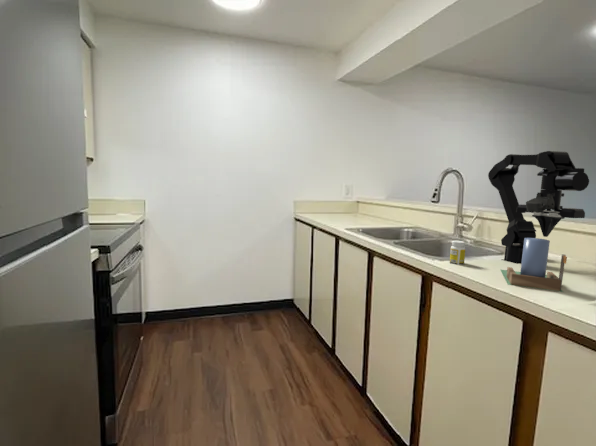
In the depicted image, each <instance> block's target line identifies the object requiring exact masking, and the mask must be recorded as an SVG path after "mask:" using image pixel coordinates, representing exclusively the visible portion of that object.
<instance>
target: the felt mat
mask: <svg viewBox="0 0 596 446" xmlns="http://www.w3.org/2000/svg"><path fill="white" fill-rule="evenodd" d="M514 271H515V273H516V274H520V271H516V270H514ZM500 272H501V274H502V276H503V278H504V280H505V283H507V286H512V285H511V284H510V282H509V280H508V278H507V269H500ZM545 278H547V274H546V275H545ZM513 286H515V287H518V286H517V285H513ZM520 287H523V288H525V287H524V286H520ZM528 288H529V289H530V288H531V289H533V288H532V287H528ZM535 289H537V290H541V289H540V288H535ZM543 290H545V291H548V290H547V289H543ZM550 291H553V292H556V291H555V290H550ZM558 292H559V293H564V290H562V289H561V291H558Z"/></svg>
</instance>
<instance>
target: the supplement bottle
mask: <svg viewBox="0 0 596 446" xmlns="http://www.w3.org/2000/svg"><path fill="white" fill-rule="evenodd" d="M465 244H466V243H465V241H462V240H452V242H451V246H450V253H449V254H450V255H449V264H450V265H459V266H460V265H461V266H462V265H465V259H466V247H465Z"/></svg>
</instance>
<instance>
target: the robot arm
mask: <svg viewBox="0 0 596 446" xmlns="http://www.w3.org/2000/svg"><path fill="white" fill-rule="evenodd" d="M509 166H511V167H510V168H509ZM520 166H536V167H537V168H541V169H542V170H541V171H539V172H538V173H537V174H536V175H537V177H538V176H539V177H541V185H540V191H539V192H537V193H536V196H535V197H534V198H531V199H529V200H527V201H525V204H519V203H520V202H519V200H518V197H517V195H516V192H515V189H514V183H515V181H516V180H515V179H516V178H515V176H516V175H517V174H518V173H519V168H520ZM487 176H488V180H489V182H490V184H491V185H492V186H493V187H494V188H495V189H496V190H497V191H498V194H499V197H500V199H501V203H502V206H503V209H504V212H505V215H506V217H507V220H508V225H507V227H506V234H505V235H504V236H503V237H502V238H501V246H505V247H504V248H505V249H504V259H501V261H504V262H508V263H511V264H512V263H513V264H517V265H518V264H520V265H521V263H522V254H523V245H524V238H537V233H536V232H537V230H536V228H535V226H534V222H533V221H532V220H526V219H525V217H524V215H523V214H526V213H532V214H531V216H532V217H534V218H535V219H536V220H537V222H538V224H539V226H540V230H541V233H542V237H544V238H548V237H549V235H550V234H551V233H552V231H553V230H554V228H555V227H556V226H557V225H558V224H559V222H560V221H561V220H563V219H565V218H568V219H585V217H586V212H585V210H584V209H583V208H576V207H575V208H572V207H564V206H563V205H561V201H562V197H565V193H564V192H563V191H566V192H568V191H570V192H571V191H572V192H582V191H584V190H585V189H587V188H588V186H589V184H590V179H589V176H588V174H587V173H586V172H585V168H581V167H580V168H579V167H576V166H575V164H574V163H573V160H572V159H571V157H570V154H569V152H568V151H561V150H560V151H559V150H557V151H556V150H546V151H542V152H539V153H536V154H513V153H511V154H507V155H506V156H505V157H504V158H503V159H502V160H500V161H499V162H497V163H496V164H494V165H493V167H491V169H490V170H489V172H488V174H487Z"/></svg>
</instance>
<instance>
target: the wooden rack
mask: <svg viewBox="0 0 596 446" xmlns="http://www.w3.org/2000/svg"><path fill="white" fill-rule="evenodd" d="M567 259H568V256H566V254H561V258H560V267H559V273H558V274H559V275H558V276H557V275H556V274H555V273H554V272H552V271H546V273H547V274H546V275H547V278H545V277H536V276H528V275H520V274H516V273H515V271H516V270H514V269H513V267H511V266H510V267H509V266H508V267H507V269H506V270H507V278H508V280H509V282H510V284H511V285H510V286H514V285H517V286H516V287H521V286H524V287H523V288H529V287H532V288H531V289H536V288H540V289H539V290H544V289H547V290H546V291H551V290H555V291H554V292H559V291H561V290H562V287H563V286H562V284H563V278H564V270H565V265H566V264H567Z"/></svg>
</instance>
